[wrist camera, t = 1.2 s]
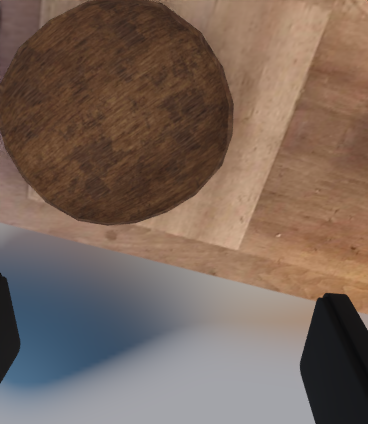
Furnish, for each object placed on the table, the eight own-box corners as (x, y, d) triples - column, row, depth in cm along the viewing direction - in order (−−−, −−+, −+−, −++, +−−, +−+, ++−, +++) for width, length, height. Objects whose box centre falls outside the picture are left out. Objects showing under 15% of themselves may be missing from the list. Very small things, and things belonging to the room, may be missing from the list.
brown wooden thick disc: (259, 151, 38) (267, 166, 33) (92, 231, 43) (79, 253, 38) (170, -45, 30) (165, -60, 26) (-17, 80, 36) (-49, 86, 31)
